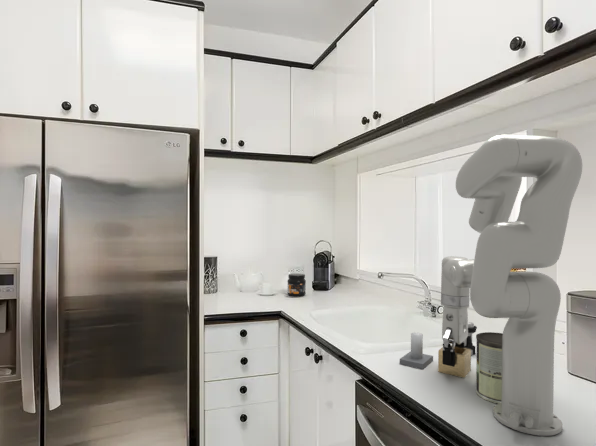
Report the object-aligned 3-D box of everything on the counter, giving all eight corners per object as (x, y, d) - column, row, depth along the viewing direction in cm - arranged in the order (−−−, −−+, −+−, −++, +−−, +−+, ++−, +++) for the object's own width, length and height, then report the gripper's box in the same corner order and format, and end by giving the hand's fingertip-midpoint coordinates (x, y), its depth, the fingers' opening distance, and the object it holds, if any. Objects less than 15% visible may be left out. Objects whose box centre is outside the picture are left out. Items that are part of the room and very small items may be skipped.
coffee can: (468, 386, 100) (468, 331, 100) (507, 386, 101) (508, 332, 101) (488, 405, 90) (489, 344, 90) (532, 405, 90) (533, 344, 90)
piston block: (422, 369, 112) (423, 339, 112) (399, 364, 116) (399, 335, 116) (433, 360, 119) (433, 332, 119) (410, 355, 123) (410, 328, 123)
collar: (464, 377, 106) (464, 355, 106) (438, 371, 110) (438, 350, 110) (470, 370, 112) (470, 349, 112) (445, 364, 116) (445, 344, 116)
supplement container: (283, 295, 223) (284, 274, 223) (293, 293, 232) (293, 272, 232) (300, 297, 218) (300, 276, 218) (308, 294, 227) (309, 274, 227)
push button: (466, 358, 121) (467, 326, 121) (452, 353, 126) (452, 322, 126) (480, 355, 125) (480, 323, 125) (465, 350, 129) (465, 320, 129)
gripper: (460, 308, 102) (459, 373, 103) (476, 297, 116) (474, 354, 117) (431, 303, 107) (430, 366, 107) (450, 293, 121) (448, 349, 121)
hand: (453, 360), depth 112 cm, fingers open, 9 cm apart
